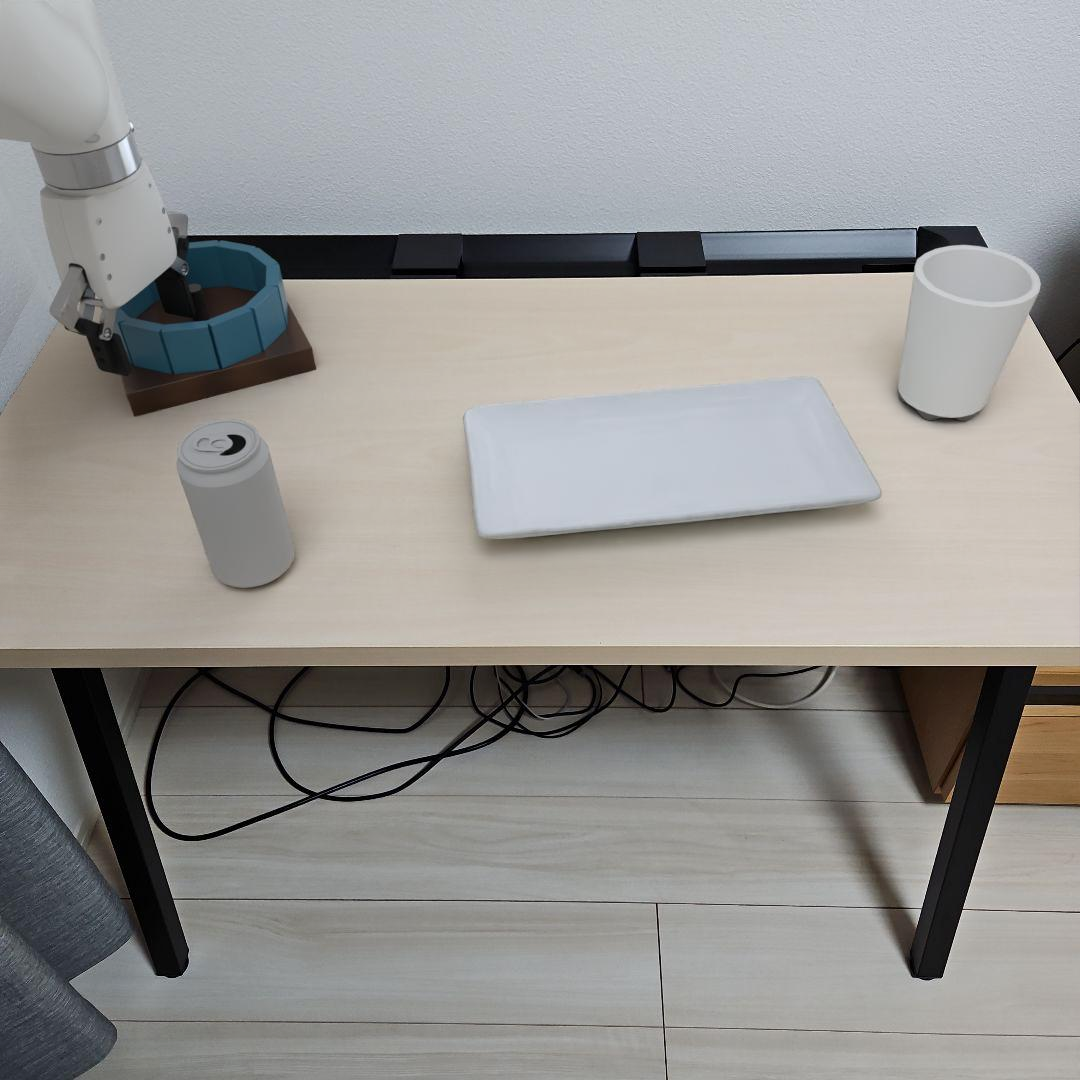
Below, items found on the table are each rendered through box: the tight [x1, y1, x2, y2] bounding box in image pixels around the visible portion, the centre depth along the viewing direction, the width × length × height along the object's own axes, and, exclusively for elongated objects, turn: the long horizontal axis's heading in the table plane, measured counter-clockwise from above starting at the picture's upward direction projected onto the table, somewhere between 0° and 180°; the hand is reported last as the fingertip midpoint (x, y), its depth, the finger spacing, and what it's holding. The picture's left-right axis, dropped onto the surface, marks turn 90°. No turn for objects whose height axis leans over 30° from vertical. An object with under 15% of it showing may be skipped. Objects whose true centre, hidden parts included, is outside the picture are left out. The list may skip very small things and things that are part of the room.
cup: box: [897, 244, 1042, 422], centre depth 90 cm, size 10×10×13 cm
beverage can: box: [176, 418, 296, 589], centre depth 77 cm, size 6×6×12 cm
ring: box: [99, 239, 289, 374], centre depth 99 cm, size 17×17×4 cm
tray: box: [462, 375, 883, 540], centre depth 86 cm, size 17×32×4 cm, turn 97°
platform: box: [120, 284, 317, 417], centre depth 101 cm, size 17×17×6 cm
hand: (149, 341), depth 94 cm, fingers open, 9 cm apart
